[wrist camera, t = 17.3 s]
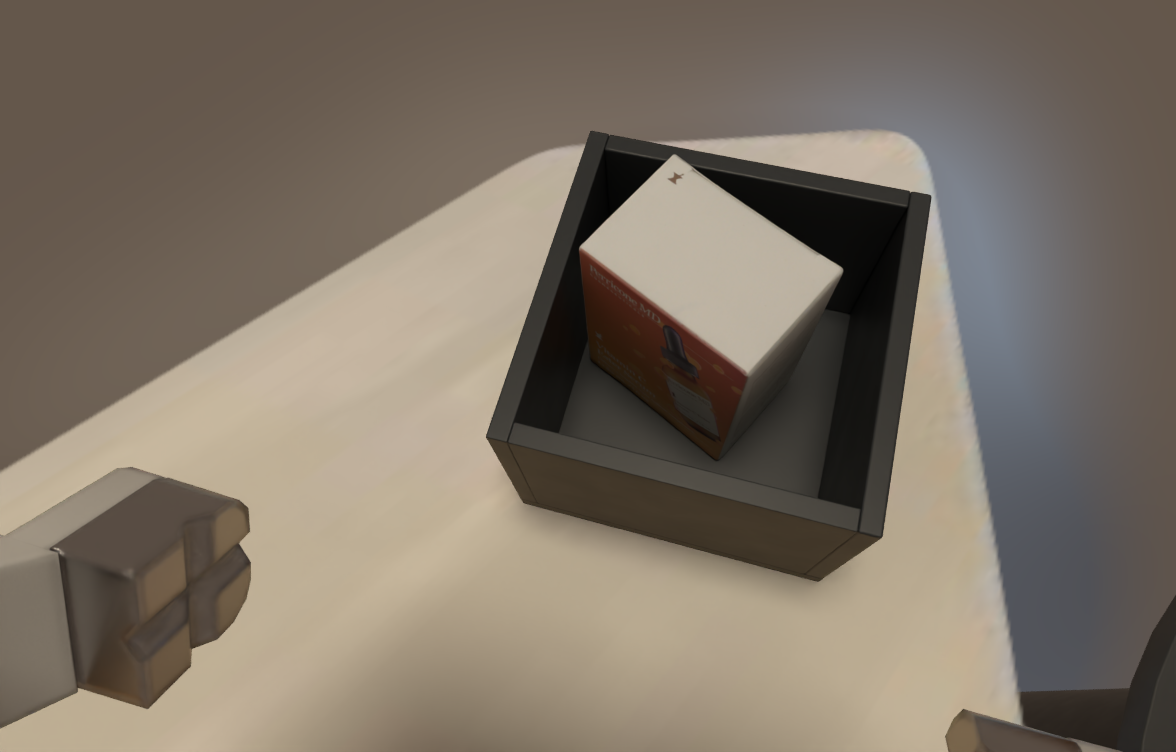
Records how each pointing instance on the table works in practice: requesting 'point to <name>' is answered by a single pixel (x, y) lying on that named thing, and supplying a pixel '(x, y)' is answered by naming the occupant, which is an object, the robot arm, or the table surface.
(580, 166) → the trash bin
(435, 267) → the table surface
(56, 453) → the table surface
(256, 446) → the table surface
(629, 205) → the small box
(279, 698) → the table surface
